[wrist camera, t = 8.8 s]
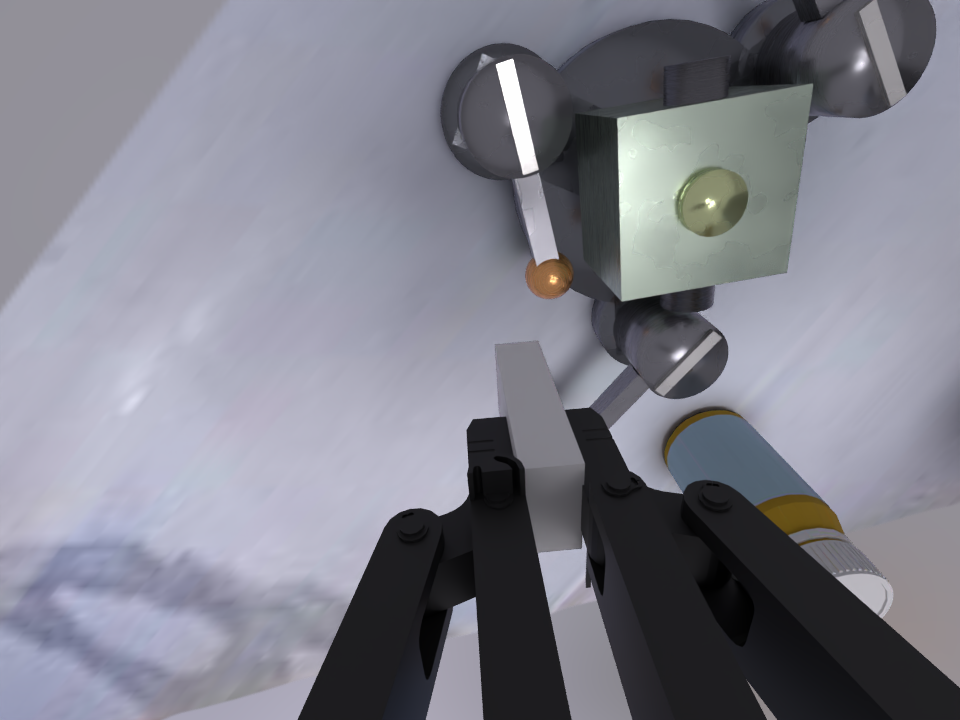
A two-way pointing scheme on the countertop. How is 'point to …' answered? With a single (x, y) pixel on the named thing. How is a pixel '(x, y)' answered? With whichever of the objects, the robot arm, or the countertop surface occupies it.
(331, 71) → the countertop surface
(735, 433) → the bottle
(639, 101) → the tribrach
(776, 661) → the robot arm
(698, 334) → the foot screw
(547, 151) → the foot screw
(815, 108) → the foot screw
